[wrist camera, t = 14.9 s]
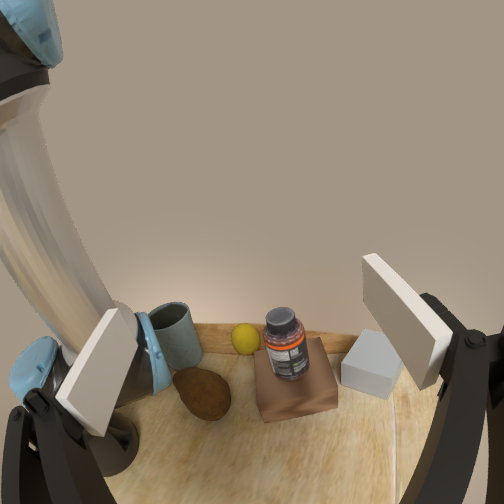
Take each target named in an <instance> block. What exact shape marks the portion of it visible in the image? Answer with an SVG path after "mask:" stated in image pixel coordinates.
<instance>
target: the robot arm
mask: <svg viewBox="0 0 504 504" xmlns="http://www.w3.org/2000/svg"><path fill="white" fill-rule="evenodd" d="M62 59H63V50H62V42H61V37H60V32H59V27H58V22H57V18H56V13H55V9H54V4H53V0H0V259H1V261H2V262H3V264H4V266H5V267H6V269H7V270H8V272H9V274H10V275H11V277H12V278H13V280H14V281H15V283H16V284H17V286H18V287H19V289H20V290H21V292H22V293H23V294H24V296H25V297H26V299H27V300H28V301H29V303H30V304H31V306H32V307H33V308H34V309H35V311H36V312H37V313H38V315H39V316H40V317H41V318H42V320H43V321H44V322H45V323H46V325H47V326H48V327H49V328H50V329H51V331H52V332H53V333H54V334H55V335H56V336H57V338H58V339H59V340H60V341H61V342H62V345H61V346H58V343H57V341H56V340H54V339H53V338H52V337H48V336H45V337H42V338H39V339H37V340H36V341H34V342H33V343H32V344H30V345H29V346H28V347H27V348H26V349H25V350H24V351H23V352H22V353H21V355H20V356H19V357H18V359H17V360H16V362H15V363H14V365H13V367H12V370H11V373H10V379H9V381H10V386H11V389H12V391H13V392H14V393H15V395H16V396H17V397H18V399H19V400H20V401H21V403H22V405H23V406H24V407H25V408H26V409H27V410H28V411H29V412H28V411H27V410H26V409H25V408H24V407H23V406H17V407H15V408H14V409H12V411H11V413H10V415H9V419H8V424H7V430H6V436H5V445H4V452H3V464H2V484H1V485H2V487H1V488H2V489H1V493H2V494H1V496H2V497H1V498H2V504H117V503H116V501H115V499H114V497H113V496H112V494H111V492H110V490H109V488H108V486H107V484H106V482H105V480H104V478H103V477H109V476H113V475H116V474H118V473H120V472H122V471H123V470H125V469H126V468H127V467H128V466H129V465H130V464H131V462H132V461H133V459H134V458H135V456H136V453H137V450H138V445H139V438H138V433H137V431H136V429H135V427H134V426H133V424H132V423H131V422H130V421H129V420H128V419H127V418H126V417H125V416H124V415H122V414H121V413H119V412H117V411H115V410H113V409H116V408H119V407H121V406H124V405H127V404H129V403H132V402H135V401H137V400H140V399H142V398H145V397H148V396H154V395H155V394H156V393H157V392H159V391H161V390H163V389H165V388H167V387H168V386H170V384H171V381H172V376H171V373H170V371H169V368H168V366H167V363H166V361H165V358H164V356H163V354H162V351H161V348H160V345H159V343H158V340H157V337H156V335H155V332H154V329H153V327H152V324H151V322H150V319H149V317H148V315H147V314H146V313H144V312H141V313H138V312H137V313H133V312H132V310H131V309H130V308H129V307H128V306H127V305H125V304H123V303H121V302H118V301H115V300H114V301H113V300H112V299H111V297H110V295H109V293H108V292H107V290H106V288H105V286H104V284H103V283H102V281H101V279H100V277H99V275H98V273H97V271H96V269H95V267H94V266H93V263H92V261H91V259H90V258H89V256H88V253H87V251H86V249H85V247H84V245H83V243H82V241H81V239H80V237H79V234H78V232H77V230H76V228H75V225H74V223H73V220H72V218H71V216H70V213H69V211H68V208H67V206H66V203H65V201H64V198H63V195H62V193H61V190H60V187H59V184H58V181H57V178H56V176H55V173H54V170H53V166H52V163H51V160H50V157H49V154H48V150H47V146H46V143H45V139H44V135H43V131H42V127H41V123H40V119H39V115H38V114H39V110H40V107H41V105H42V103H43V101H44V99H45V97H46V96H47V94H48V92H49V90H50V82H49V77H48V69H50V68H54V67H56V65H57V64H59V63H60V62H61V61H62ZM362 268H363V302H364V303H365V305H366V306H367V307H368V309H369V311H370V312H371V314H372V315H373V317H374V318H375V320H376V321H377V323H378V324H379V326H380V327H381V328H382V330H383V332H384V333H385V335H386V336H387V338H388V339H389V341H390V343H391V344H392V346H393V347H394V349H395V350H396V352H397V354H398V355H399V357H400V358H401V360H402V362H403V363H404V365H405V367H406V368H407V370H408V371H409V373H410V375H411V376H412V378H413V380H414V382H415V383H416V385H417V387H418V388H419V390H420V391H421V390H423V389H425V388H427V387H429V386H431V385H433V384H435V383H436V381H437V378H438V376H439V374H440V375H441V377H442V378H443V380H444V381H443V383H442V385H441V388H440V390H439V392H438V394H437V396H439V399H438V403H437V407H436V411H435V414H434V418H433V421H432V424H431V428H430V431H429V434H428V437H427V440H426V443H425V446H424V448H423V451H422V454H421V457H420V459H419V462H418V464H417V467H416V469H415V471H414V474H413V476H412V478H411V480H410V483H409V485H408V487H407V489H406V491H405V493H404V495H403V497H402V499H401V501H400V503H399V504H462V502H463V499H464V497H465V494H466V491H467V488H468V485H469V482H470V479H471V476H472V472H473V469H474V465H475V461H476V458H477V454H478V450H479V445H480V440H481V435H482V430H483V424H484V418H485V411H486V412H487V422H488V443H489V464H488V466H489V467H488V484H487V494H486V503H485V504H504V326H503V329H502V331H501V333H499V334H494V335H490V336H486V335H485V334H484V333H482V332H480V331H478V330H475V329H473V330H467V329H466V328H465V327H464V326H463V325H462V323H461V322H460V321H459V320H458V319H457V318H456V317H455V316H454V315H453V314H452V313H451V312H450V311H448V309H447V308H446V307H445V306H444V305H442V303H441V302H440V301H439V300H438V299H437V298H436V297H434V296H432V295H430V294H428V293H424V294H421V295H418V294H417V293H416V292H415V291H414V290H413V289H412V288H411V287H410V286H409V285H408V284H407V283H406V282H405V281H404V280H403V279H402V278H401V277H400V276H399V275H398V274H397V273H395V271H394V270H393V269H392V268H391V267H390V266H388V265H387V264H386V263H385V262H384V261H383V260H382V259H381V258H380V257H379V256H378V255H377V254H376V253H373V254H370V255H365V256H362ZM29 442H30V443H31V444H33V445H34V446H35V447H36V450H35V451H34V450H33V449H31V448H30V447H29Z"/></svg>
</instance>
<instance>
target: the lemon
mask: <svg viewBox="0 0 504 504" xmlns="http://www.w3.org/2000/svg"><path fill="white" fill-rule="evenodd" d="M232 343H233V346H234V348H235V349H236V350H237V351H238V352H239V353H241V354H243V355H251V354H253V353H254V351H257V350H258V348H259V345H260V337H259V334H258V332H257V330H256V329H255V328H254V327H253V326H252V325H250V324H248V323H242V324H239V325H237V326H236V327H235V328H234V329H233V331H232Z"/></svg>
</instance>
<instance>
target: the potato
mask: <svg viewBox="0 0 504 504" xmlns="http://www.w3.org/2000/svg"><path fill="white" fill-rule="evenodd" d="M173 384H174V386H175V387H176V389H177V391H178V392H179V394H180V397H181V399H182V401H183V403H184V404H185V405H186V407H187V408H188V409H189V410H190V412H191V413H193V414H194V415H196V416H197V417H199V418H201V419H204V420H208V421H213V420H218V419H220V418H221V417H222V416H224V415H225V413H226V412H227V411H228V409H229V407H230V401H231V396H230V389H229V386H228V383H227V382H226V381H225V380H224V379H223V378H222V377H221V376H220V375H218V374H216V373H214V372H212V371H208V370H203V369H199V368H195V367H187V368H183V369H181V370H179V371H178V372H176V374H175V375H174V377H173Z"/></svg>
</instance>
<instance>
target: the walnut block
mask: <svg viewBox="0 0 504 504" xmlns="http://www.w3.org/2000/svg"><path fill="white" fill-rule="evenodd" d="M306 343H307V349H308V356H309V364H310V365H309V370H308V372H307V373H306V374H305V375H304V376H303V377H301V378H300V379H297V380H293V381H284V380H281V379H279V378H278V377H276V375H275V374H274V372H273V369H272V366H271V362H270V359H269V355H268V352H267V349H263V350H258V351H254V363H255V377H256V392H257V405H258V407H259V410H260V412H261V415H262V417H263V420H264V422H265V423H269V422H275V421H281V420H286V419H292V418H296V417H301V416H306V415H310V414H314V413H318V412H322V411H326V410H330V409H334V408H338V385H337V382H336V380H335V377H334V374H333V371H332V368H331V366H330V363H329V360H328V357H327V355H326V352H325V349H324V346H323V344H322V341H321V338H320V337H317V338H313V339H309V340H306Z"/></svg>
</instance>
